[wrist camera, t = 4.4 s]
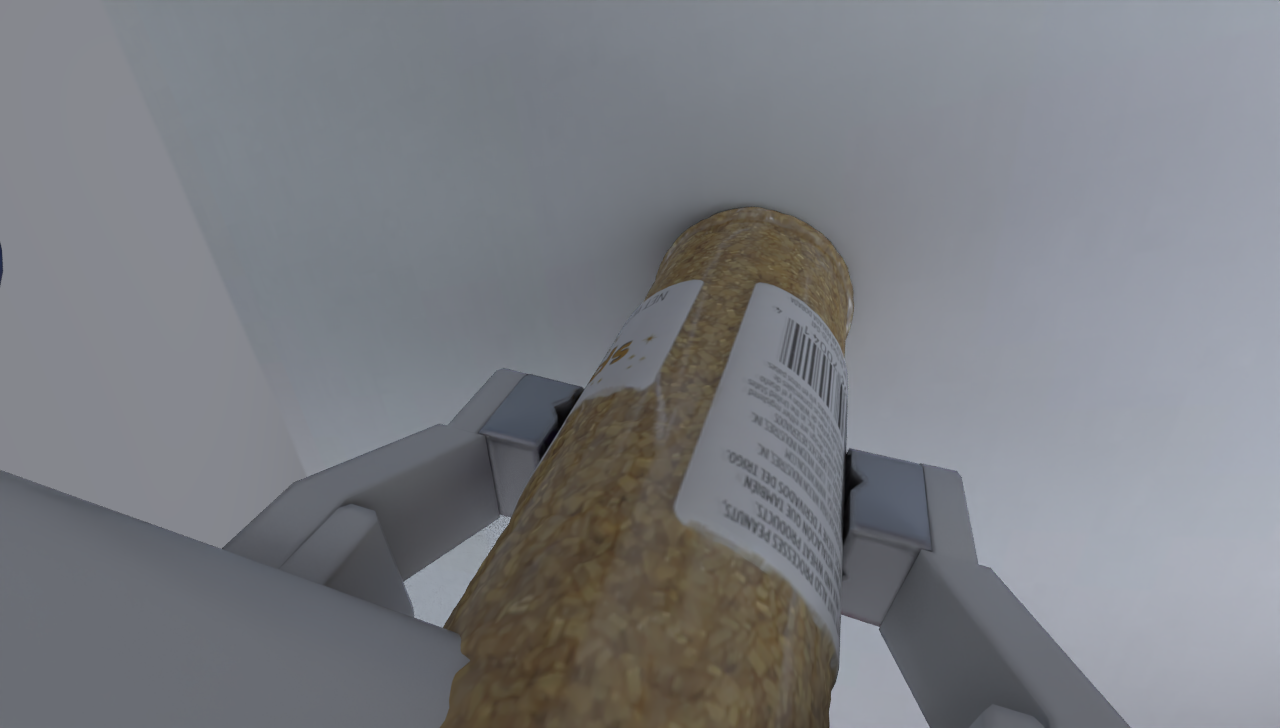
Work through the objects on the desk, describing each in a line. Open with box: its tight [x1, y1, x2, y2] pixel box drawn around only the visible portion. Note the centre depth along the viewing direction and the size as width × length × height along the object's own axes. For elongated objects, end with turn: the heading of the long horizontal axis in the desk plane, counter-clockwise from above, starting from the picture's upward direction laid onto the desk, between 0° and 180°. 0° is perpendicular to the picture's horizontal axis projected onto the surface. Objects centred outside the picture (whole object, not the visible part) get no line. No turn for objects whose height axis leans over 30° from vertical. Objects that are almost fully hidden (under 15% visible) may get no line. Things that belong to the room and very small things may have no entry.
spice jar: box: [440, 207, 854, 728], centre depth 8 cm, size 5×5×14 cm
